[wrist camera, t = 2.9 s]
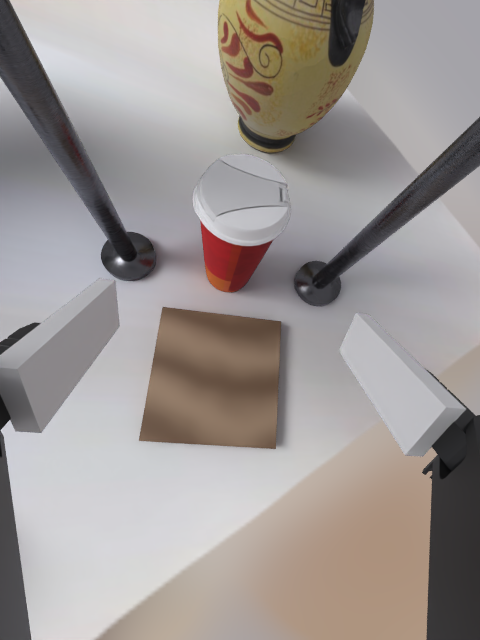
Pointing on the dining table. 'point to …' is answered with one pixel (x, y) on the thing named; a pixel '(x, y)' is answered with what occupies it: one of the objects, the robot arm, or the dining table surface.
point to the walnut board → (213, 380)
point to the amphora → (289, 62)
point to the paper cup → (239, 216)
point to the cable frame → (136, 250)
